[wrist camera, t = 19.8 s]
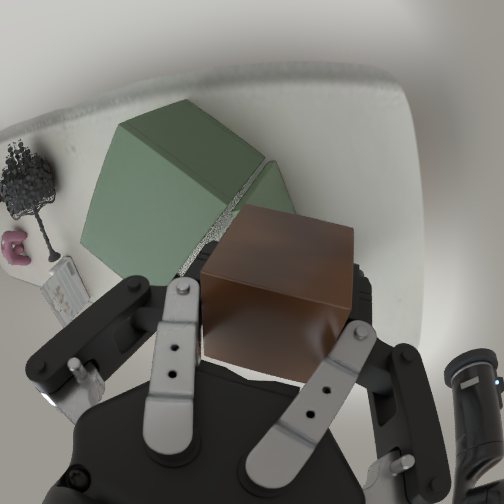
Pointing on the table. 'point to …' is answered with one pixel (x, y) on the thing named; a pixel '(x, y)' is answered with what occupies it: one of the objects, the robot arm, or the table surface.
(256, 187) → the door
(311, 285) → the block
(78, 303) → the ink cartridge box
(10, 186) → the massage brush
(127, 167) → the cupboard
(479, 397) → the robot arm
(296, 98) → the table surface
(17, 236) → the video game controller
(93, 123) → the table surface
